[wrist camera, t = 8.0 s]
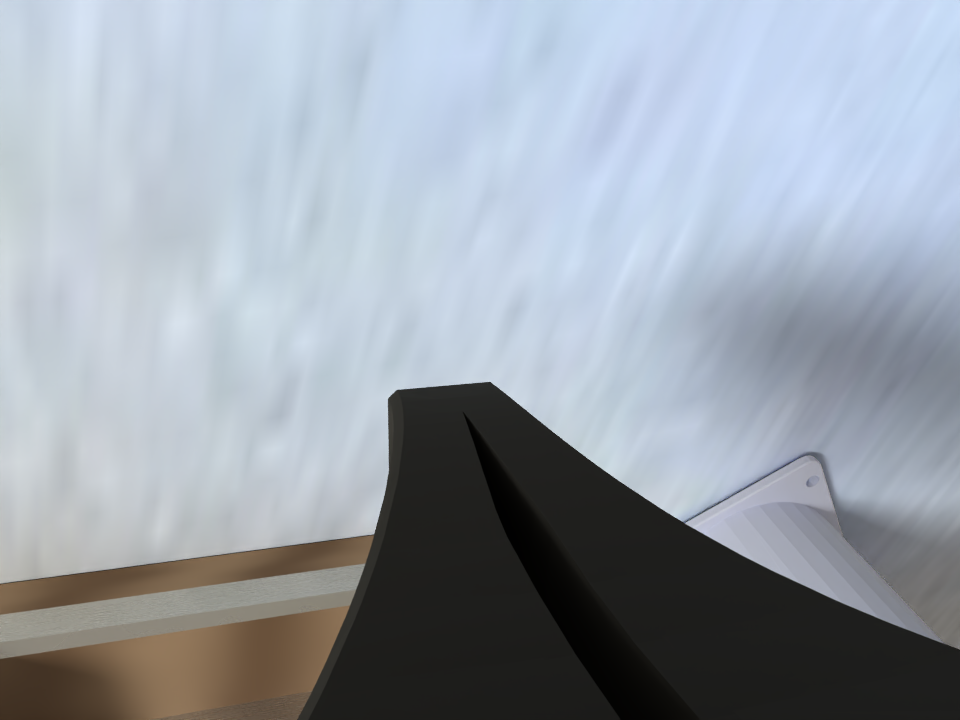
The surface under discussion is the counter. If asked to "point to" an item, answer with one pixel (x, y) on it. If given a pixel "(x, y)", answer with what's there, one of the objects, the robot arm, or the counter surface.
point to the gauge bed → (174, 642)
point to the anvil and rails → (185, 623)
